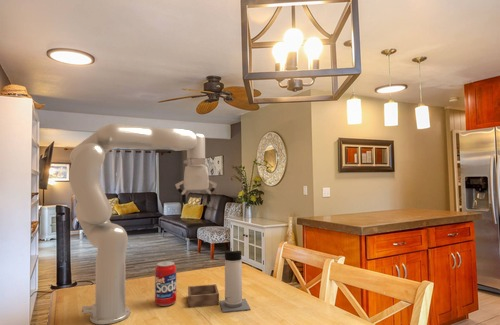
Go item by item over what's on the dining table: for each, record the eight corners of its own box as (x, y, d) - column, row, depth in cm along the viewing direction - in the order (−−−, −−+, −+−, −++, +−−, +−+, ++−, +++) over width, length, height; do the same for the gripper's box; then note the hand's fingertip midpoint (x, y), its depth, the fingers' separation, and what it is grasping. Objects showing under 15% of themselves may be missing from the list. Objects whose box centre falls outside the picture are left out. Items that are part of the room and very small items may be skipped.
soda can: (172, 297, 129) (172, 259, 130) (179, 304, 123) (179, 263, 124) (152, 302, 125) (152, 262, 126) (158, 309, 119) (158, 267, 119)
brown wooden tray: (188, 307, 120) (188, 296, 120) (188, 296, 131) (188, 286, 131) (219, 304, 122) (219, 293, 122) (216, 294, 133) (216, 284, 133)
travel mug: (224, 308, 117) (223, 252, 118) (225, 301, 124) (225, 247, 125) (241, 308, 117) (241, 251, 118) (242, 301, 124) (241, 247, 125)
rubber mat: (222, 312, 115) (222, 311, 115) (219, 302, 125) (219, 300, 125) (250, 310, 117) (250, 308, 117) (245, 299, 127) (245, 298, 127)
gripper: (175, 162, 133) (175, 205, 132) (217, 162, 136) (217, 204, 136) (175, 163, 140) (175, 203, 140) (215, 163, 144) (216, 202, 143)
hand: (196, 203), depth 138 cm, fingers open, 9 cm apart
